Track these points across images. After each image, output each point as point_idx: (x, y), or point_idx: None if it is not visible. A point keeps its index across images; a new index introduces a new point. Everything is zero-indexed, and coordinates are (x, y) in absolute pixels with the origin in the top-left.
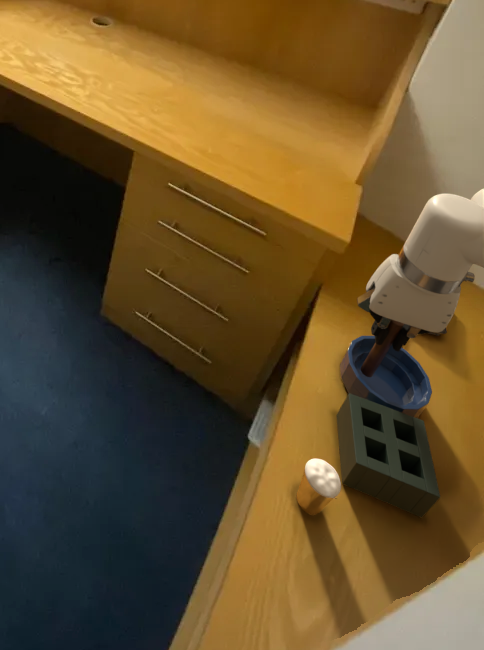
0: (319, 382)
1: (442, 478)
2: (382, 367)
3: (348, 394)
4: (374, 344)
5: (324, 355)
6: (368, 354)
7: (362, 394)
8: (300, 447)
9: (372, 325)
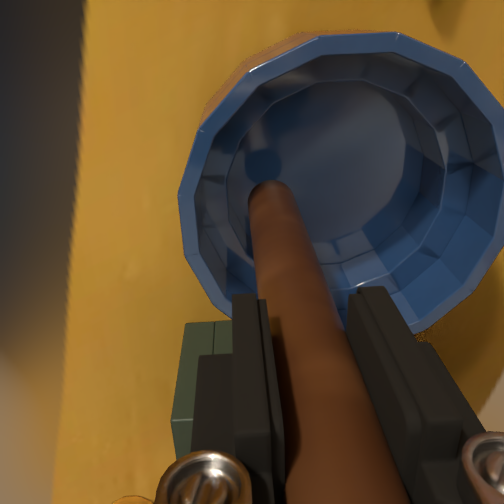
0: (128, 244)
1: (442, 359)
2: (352, 89)
3: (171, 418)
4: (258, 290)
5: (135, 126)
6: (254, 236)
7: None
8: (102, 432)
9: (198, 371)
